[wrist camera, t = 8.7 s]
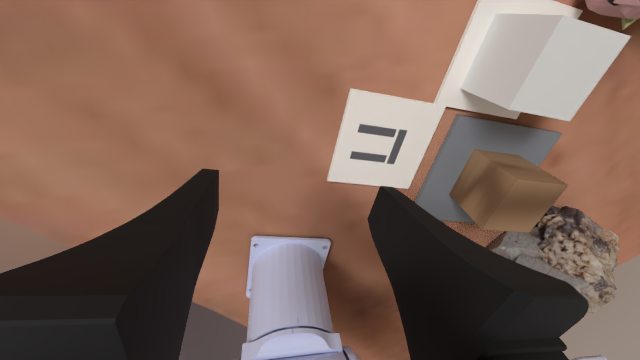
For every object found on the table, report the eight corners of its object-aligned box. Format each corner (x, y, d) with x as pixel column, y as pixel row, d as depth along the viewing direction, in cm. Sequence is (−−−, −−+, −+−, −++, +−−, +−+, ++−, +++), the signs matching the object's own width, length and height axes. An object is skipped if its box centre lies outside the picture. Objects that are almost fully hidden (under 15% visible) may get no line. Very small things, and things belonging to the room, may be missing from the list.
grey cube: (512, 99, 21) (569, 121, 17) (460, 88, 20) (508, 109, 16) (552, 29, 19) (631, 36, 15) (495, 13, 18) (563, 15, 14)
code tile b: (513, 118, 23) (516, 119, 23) (433, 103, 21) (435, 104, 21) (579, 10, 19) (583, 10, 18) (486, -20, 17) (489, -21, 17)
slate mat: (494, 222, 30) (496, 224, 30) (407, 215, 27) (409, 218, 27) (558, 132, 24) (562, 133, 24) (457, 114, 22) (459, 115, 21)
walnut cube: (490, 198, 27) (529, 232, 23) (448, 194, 26) (482, 229, 22) (519, 155, 25) (568, 185, 21) (474, 148, 24) (517, 179, 19)
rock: (523, 234, 37) (633, 248, 28) (499, 313, 33) (621, 356, 24) (497, 193, 33) (615, 194, 25) (467, 276, 29) (597, 311, 21)
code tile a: (407, 187, 25) (408, 188, 25) (326, 179, 23) (327, 181, 23) (444, 105, 21) (446, 106, 21) (350, 88, 19) (351, 89, 19)
